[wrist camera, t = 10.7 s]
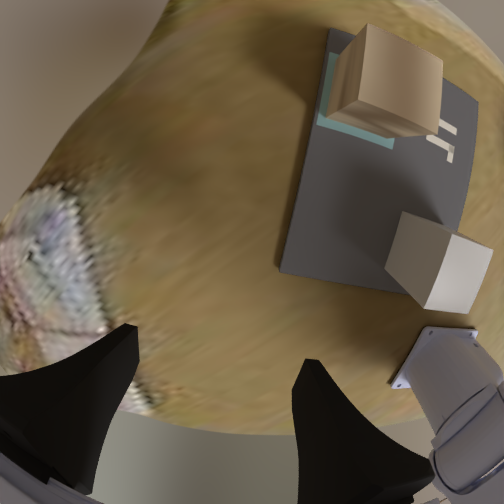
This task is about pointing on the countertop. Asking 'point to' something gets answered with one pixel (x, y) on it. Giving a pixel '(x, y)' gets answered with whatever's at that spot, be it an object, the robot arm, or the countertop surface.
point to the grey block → (437, 264)
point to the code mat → (374, 186)
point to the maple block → (386, 86)
